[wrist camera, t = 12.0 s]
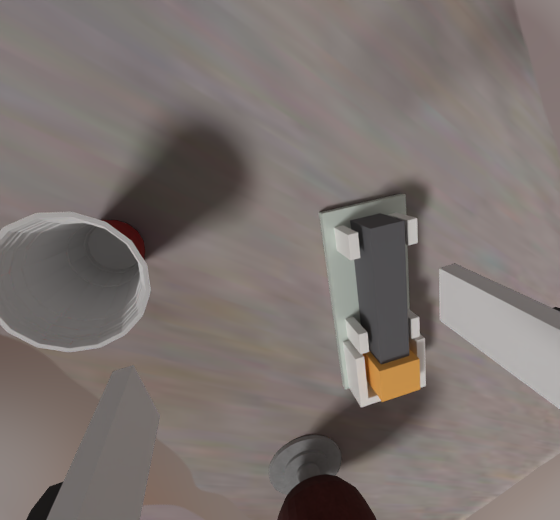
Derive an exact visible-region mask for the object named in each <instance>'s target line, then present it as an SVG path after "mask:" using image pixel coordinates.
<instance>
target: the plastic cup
mask: <svg viewBox="0 0 560 520" xmlns="http://www.w3.org/2000/svg"><path fill="white" fill-rule="evenodd" d="M144 255H145V247H144V241H143V239H142V238H141V236H140V234H139V233H138V231H137V230H135V229H134V228H133V227H131V226H130V225H129V224H127V223H124V222H121V221H117V220H98V219H95V218H92V217H88V216H85V215H82V214H78V213H75V212H49V213H35V214H32V215H30V216H28V217H25V218H23V219H21V220H18V221H16V222H14V223H11V224H9V225H7V226H5V227H3V228H2V230H1V231H0V325H1V326H2V327H3V328H4V329H5V330H6V331H7V332H8V333H10V334H12V335H14V336H16V337H18V338H20V339H22V340H24V341H26V342H27V343H29V344H31V345H33V346H35V347H39V348H45V349H51V350H58V351H64V352H75V351H81V350H88V349H95V348H101V347H102V346H104V345H106V344H108V343H110V342H112V341H114V340H116V339H118V338H120V337H122V336H124V335H126V334H127V333H128V332H129V330H130V329H131V328H132V327H133V326H134V325H135V324H136V323H137V322H138V320H139V319H140V318H141V317H142V316H143V314H144V311H145V308H146V305H147V302H148V299H149V296H150V292H151V288H150V281H149V274H148V267H147V264H146V262H145V258H144Z"/></svg>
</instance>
